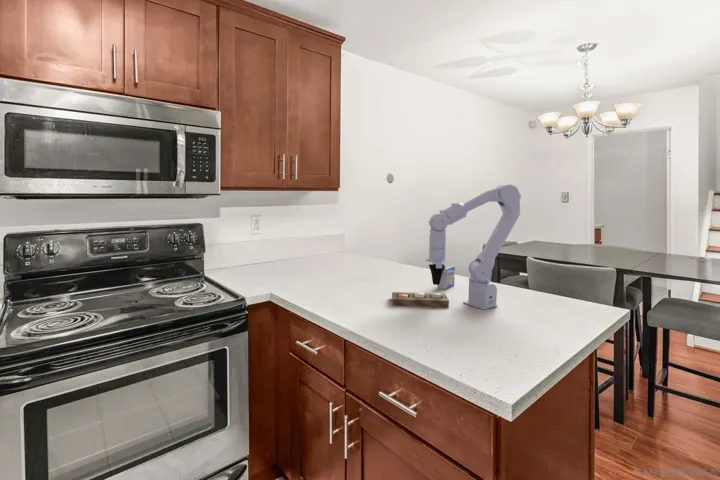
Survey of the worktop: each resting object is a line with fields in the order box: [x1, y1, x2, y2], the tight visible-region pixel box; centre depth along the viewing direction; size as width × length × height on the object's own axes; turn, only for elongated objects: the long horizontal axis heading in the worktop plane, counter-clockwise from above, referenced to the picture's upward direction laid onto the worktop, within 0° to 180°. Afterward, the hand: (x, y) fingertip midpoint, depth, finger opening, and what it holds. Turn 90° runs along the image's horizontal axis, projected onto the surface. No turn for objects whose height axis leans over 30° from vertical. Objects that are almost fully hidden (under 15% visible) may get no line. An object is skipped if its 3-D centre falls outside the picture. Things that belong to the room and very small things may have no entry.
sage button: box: [430, 292, 441, 298], centre depth 144 cm, size 4×4×2 cm
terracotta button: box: [398, 294, 408, 298], centre depth 145 cm, size 4×4×2 cm
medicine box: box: [436, 265, 456, 290], centre depth 169 cm, size 8×4×9 cm, turn 143°
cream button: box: [413, 291, 425, 298], centre depth 144 cm, size 4×4×2 cm
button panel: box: [391, 291, 450, 309], centre depth 144 cm, size 20×10×2 cm, turn 85°
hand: (436, 284), depth 143 cm, fingers closed
